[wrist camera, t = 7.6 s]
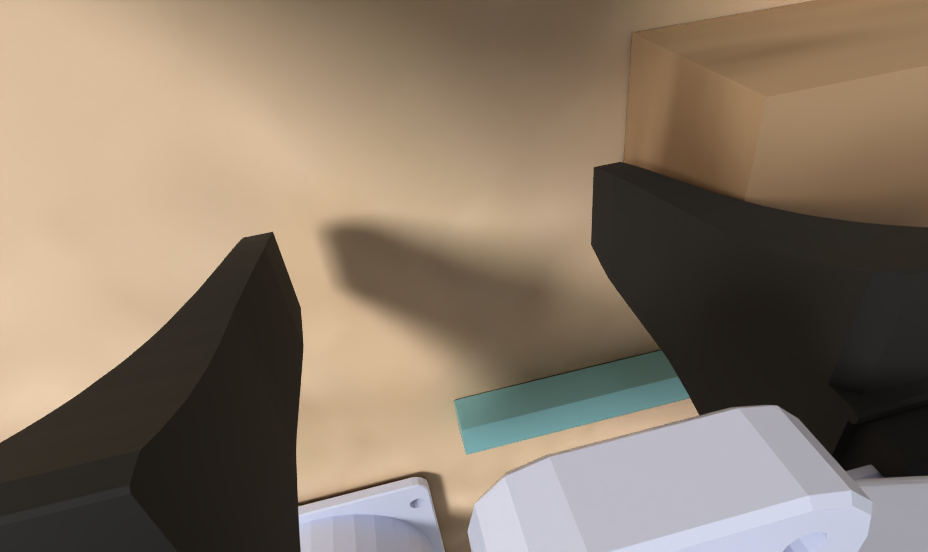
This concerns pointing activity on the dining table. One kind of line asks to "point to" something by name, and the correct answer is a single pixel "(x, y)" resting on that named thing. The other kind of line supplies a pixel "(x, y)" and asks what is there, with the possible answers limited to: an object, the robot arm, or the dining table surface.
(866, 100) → the walnut block
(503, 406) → the frame
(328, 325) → the dining table surface
